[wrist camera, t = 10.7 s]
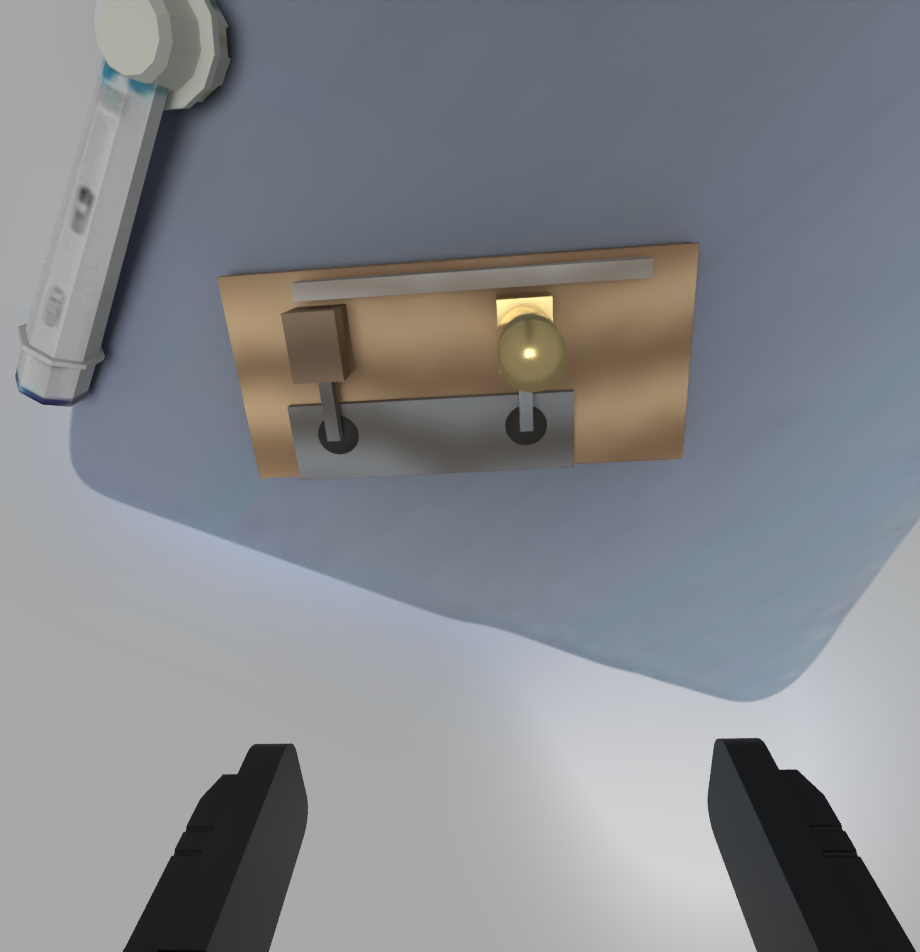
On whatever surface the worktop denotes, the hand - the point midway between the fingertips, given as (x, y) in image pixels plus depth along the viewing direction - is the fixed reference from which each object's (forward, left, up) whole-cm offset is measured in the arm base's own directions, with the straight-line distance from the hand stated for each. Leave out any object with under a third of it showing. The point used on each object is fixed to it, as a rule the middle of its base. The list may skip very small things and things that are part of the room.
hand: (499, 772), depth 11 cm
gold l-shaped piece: (-2, +2, -28) cm, 28 cm away
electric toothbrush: (-12, -22, -31) cm, 39 cm away
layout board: (-2, -2, -30) cm, 30 cm away
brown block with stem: (-2, -10, -28) cm, 30 cm away
